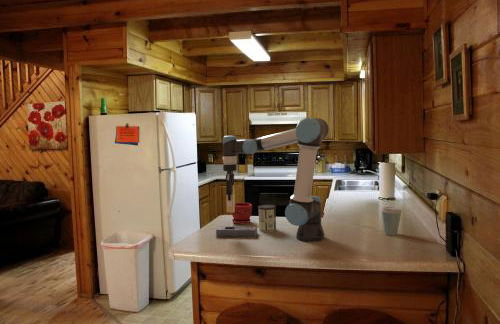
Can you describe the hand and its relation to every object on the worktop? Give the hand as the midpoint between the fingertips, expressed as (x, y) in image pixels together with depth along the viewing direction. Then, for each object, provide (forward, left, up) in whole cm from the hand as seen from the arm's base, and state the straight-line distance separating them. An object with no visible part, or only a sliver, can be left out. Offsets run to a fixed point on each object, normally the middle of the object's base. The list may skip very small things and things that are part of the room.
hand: (230, 205), depth 237 cm
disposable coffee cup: (-88, -6, -17) cm, 90 cm away
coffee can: (-19, -13, -17) cm, 29 cm away
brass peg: (0, 0, -4) cm, 4 cm away
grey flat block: (-3, 0, -17) cm, 17 cm away
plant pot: (-1, -31, -17) cm, 36 cm away
